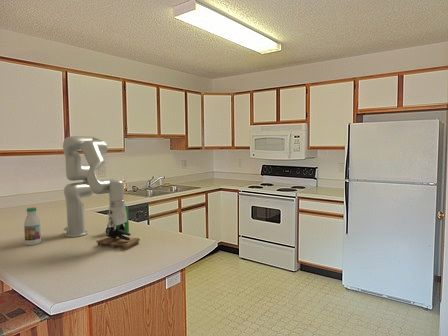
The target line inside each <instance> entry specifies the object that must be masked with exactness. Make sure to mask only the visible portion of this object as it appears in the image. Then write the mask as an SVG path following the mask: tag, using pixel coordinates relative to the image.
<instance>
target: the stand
mask: <svg viewBox="0 0 448 336" xmlns="http://www.w3.org/2000/svg"><path fill="white" fill-rule="evenodd" d="M127 237H128V238H130V240H124V239H121V238H119V237H116V238H111V237H108V236H107V235H106V236H105V237H101V238H100V239H97V240H96V242H95V243H97V247H103V246H106V245H109V248H110V249H115V248H117V247H119V246H121V249H122V250H124V251H125V250H128V249H131V248H132V247H135V246H137V245H139V243H140V240H141V239H140V238H139V237H131V236H127Z"/></svg>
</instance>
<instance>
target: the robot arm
mask: <svg viewBox="0 0 448 336" xmlns="http://www.w3.org/2000/svg"><path fill="white" fill-rule="evenodd" d="M62 150H63V154H64V157H65V158H64V159H65V175H66V179H67V180H68V181H73V182H72V183H70V182H69V183H68V184H66V185H65V186H64V189H63V193H64V194H63V195H64V198H65V202H66V203H65V205H66V222H67V223H66V224H67V225H66V226H65V227H64V228H63V231H66V232H65V233H64V236H65V237H67V238H78V237H83V236H86V235H87V234H88V230H85V229H86V228H85V227H86V226H85V225H86V224H85V207H84V203H83V201H82V200H81V198H89V197H91V196H93V195H105V194H109V195H108V196H109V198H108V199H109V207H108V223H107V225H106V228H107V227H108V228H109V229H110V231H111V238H116V237H117V236H116V231H115V230H116V226H118V225H120V227H119V229H121V230H123V231H125V229H124V227H125V224H126V222H127V213H126V207H125V206H126V205H125V184H124V181H123V180H121V179H120V180H117V179H114V178H112V179H111V178H107V179H100V180H99V179H98V176H97V175H96V171H97V170H99V169H101V168H102V167H104V166H105V164H106V162H105V159H104V157H103V155H105V154H107V153H108V145H107V143H106V142H105V141H104V140H102V139H99V138H96V137H94V136H83V135H81V136H79V135H75V136H74V135H73V136H67V137H66V138H65V139H64V140H63V142H62ZM78 151H79V152H80V151H82V153H83V155H84V158H85V159H86V162H87V163H84V164H83V163H82V157H81V155H80V154H79V152H78ZM74 181H78V182H74ZM79 181H81V182H79ZM113 224H114V225H113ZM113 226H114V228H113ZM120 234H121V233H120ZM121 235H123V236H125V235H124V234H121Z"/></svg>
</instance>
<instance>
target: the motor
mask: <svg viewBox="0 0 448 336" xmlns="http://www.w3.org/2000/svg"><path fill="white" fill-rule="evenodd" d="M125 207H126V213H127V222H126V224H125V227H124V229H125V231H126V232H128V233H130V224H129V223H130V222H129V221H130V220H129V206H128V205H125ZM113 225H114V224H113ZM119 227H120V225H118V226H116V228H117V229H119ZM113 228H114V226H113Z"/></svg>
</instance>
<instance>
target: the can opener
mask: <svg viewBox="0 0 448 336" xmlns="http://www.w3.org/2000/svg"><path fill="white" fill-rule="evenodd" d="M115 231H116V236H117V237H119V238H121V239H124V240H130V238H128V237H131V235H132V233H130V232H126V231H123V230H121V229H117V228H116V230H115ZM120 233H121V234H124V235H121V234H120ZM105 234H106V237H107V236H108V237H111V231H110V229H109V228H108V227H107V226H106V228H105Z"/></svg>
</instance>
